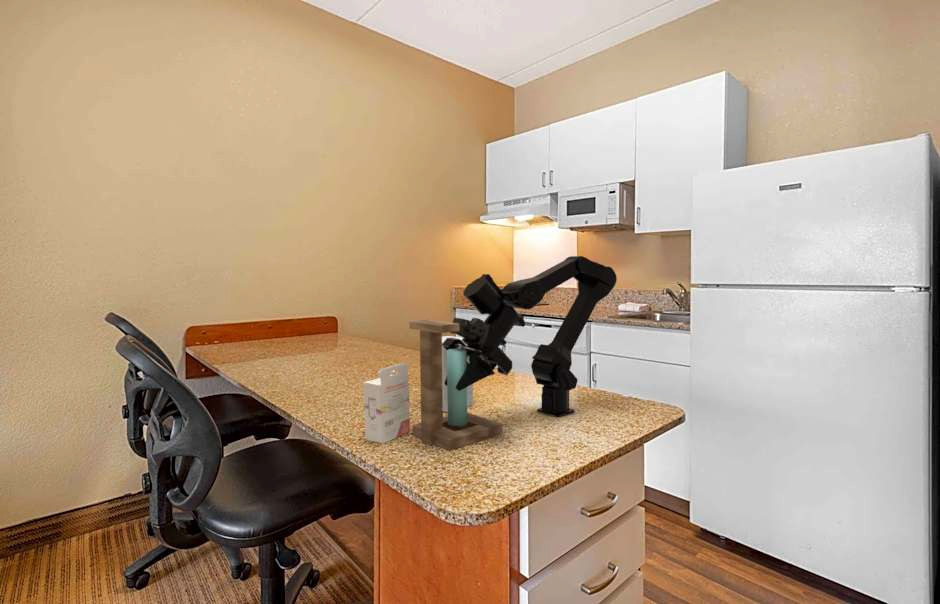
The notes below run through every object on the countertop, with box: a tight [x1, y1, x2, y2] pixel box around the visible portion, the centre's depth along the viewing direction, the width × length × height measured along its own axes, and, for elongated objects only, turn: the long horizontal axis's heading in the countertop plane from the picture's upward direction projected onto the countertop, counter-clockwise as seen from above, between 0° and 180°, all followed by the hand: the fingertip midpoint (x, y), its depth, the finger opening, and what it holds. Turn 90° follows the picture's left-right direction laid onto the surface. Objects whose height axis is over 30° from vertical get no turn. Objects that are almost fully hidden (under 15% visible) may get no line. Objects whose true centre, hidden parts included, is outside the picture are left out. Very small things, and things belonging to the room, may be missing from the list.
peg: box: [447, 349, 468, 426], centre depth 97 cm, size 4×4×15 cm
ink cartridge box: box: [362, 362, 411, 444], centre depth 97 cm, size 9×5×15 cm, turn 148°
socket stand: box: [408, 319, 503, 452], centre depth 97 cm, size 15×12×23 cm
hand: (451, 387), depth 96 cm, fingers closed on peg, 4 cm apart
